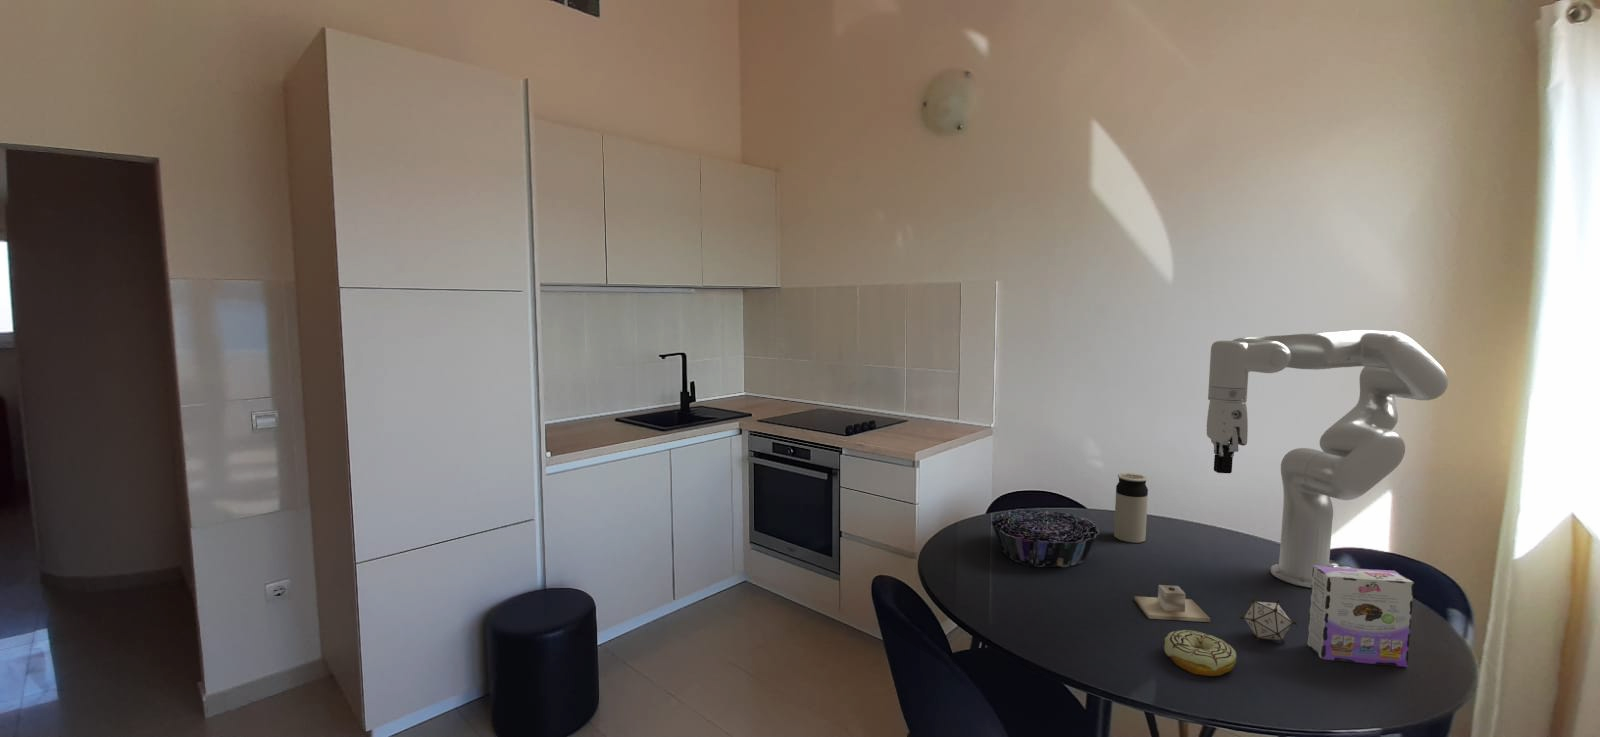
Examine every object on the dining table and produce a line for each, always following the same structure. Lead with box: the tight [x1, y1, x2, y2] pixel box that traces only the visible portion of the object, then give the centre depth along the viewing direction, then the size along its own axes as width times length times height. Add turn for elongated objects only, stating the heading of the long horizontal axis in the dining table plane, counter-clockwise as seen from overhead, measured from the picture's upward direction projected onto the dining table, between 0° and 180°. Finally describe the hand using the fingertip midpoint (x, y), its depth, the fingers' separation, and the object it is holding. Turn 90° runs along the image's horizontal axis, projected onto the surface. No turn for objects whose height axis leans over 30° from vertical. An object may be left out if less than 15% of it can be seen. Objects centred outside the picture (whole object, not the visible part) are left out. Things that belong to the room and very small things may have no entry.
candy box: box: [1306, 565, 1415, 668], centre depth 125 cm, size 14×6×16 cm, turn 77°
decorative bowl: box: [990, 509, 1101, 568], centre depth 177 cm, size 26×28×10 cm
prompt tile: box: [1133, 584, 1211, 623], centre depth 145 cm, size 12×9×5 cm
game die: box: [1238, 597, 1299, 645], centre depth 132 cm, size 9×8×10 cm
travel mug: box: [1113, 472, 1149, 544], centre depth 187 cm, size 8×8×18 cm
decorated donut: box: [1163, 629, 1237, 677], centre depth 124 cm, size 11×12×4 cm
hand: (1222, 472), depth 155 cm, fingers closed
